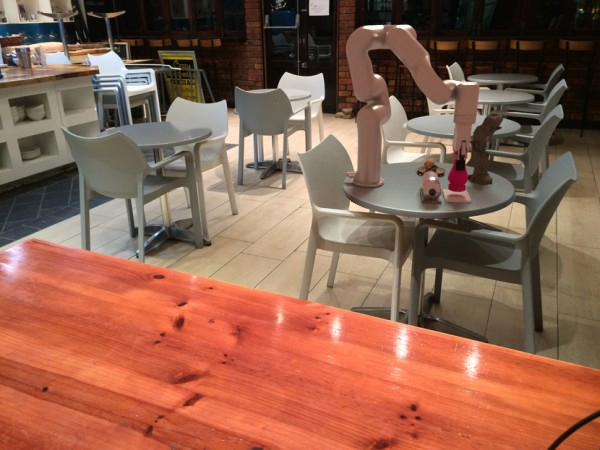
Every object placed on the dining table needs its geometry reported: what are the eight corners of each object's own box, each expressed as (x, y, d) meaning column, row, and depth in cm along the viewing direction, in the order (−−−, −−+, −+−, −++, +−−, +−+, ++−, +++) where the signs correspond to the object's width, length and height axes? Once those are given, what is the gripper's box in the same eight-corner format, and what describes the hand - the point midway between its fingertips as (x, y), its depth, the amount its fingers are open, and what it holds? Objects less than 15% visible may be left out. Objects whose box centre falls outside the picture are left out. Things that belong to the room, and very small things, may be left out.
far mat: (445, 201, 180) (445, 199, 179) (442, 191, 191) (442, 189, 190) (470, 202, 178) (471, 200, 178) (466, 192, 189) (467, 190, 189)
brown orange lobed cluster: (445, 178, 206) (447, 161, 203) (416, 176, 209) (418, 159, 206) (444, 170, 217) (446, 153, 214) (417, 168, 220) (418, 152, 217)
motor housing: (421, 202, 179) (423, 183, 176) (419, 188, 194) (421, 170, 191) (441, 203, 178) (443, 184, 175) (438, 189, 193) (439, 171, 190)
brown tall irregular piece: (457, 173, 208) (477, 109, 191) (470, 171, 210) (490, 107, 193) (478, 189, 198) (501, 123, 181) (491, 187, 201) (515, 121, 184)
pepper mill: (442, 187, 185) (447, 135, 177) (458, 185, 188) (464, 133, 180) (454, 193, 179) (460, 139, 171) (470, 191, 181) (477, 137, 174)
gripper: (451, 113, 181) (446, 161, 188) (456, 123, 166) (450, 174, 173) (472, 114, 180) (466, 162, 187) (479, 123, 165) (472, 175, 172)
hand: (459, 167), depth 180 cm, fingers closed on pepper mill, 5 cm apart
